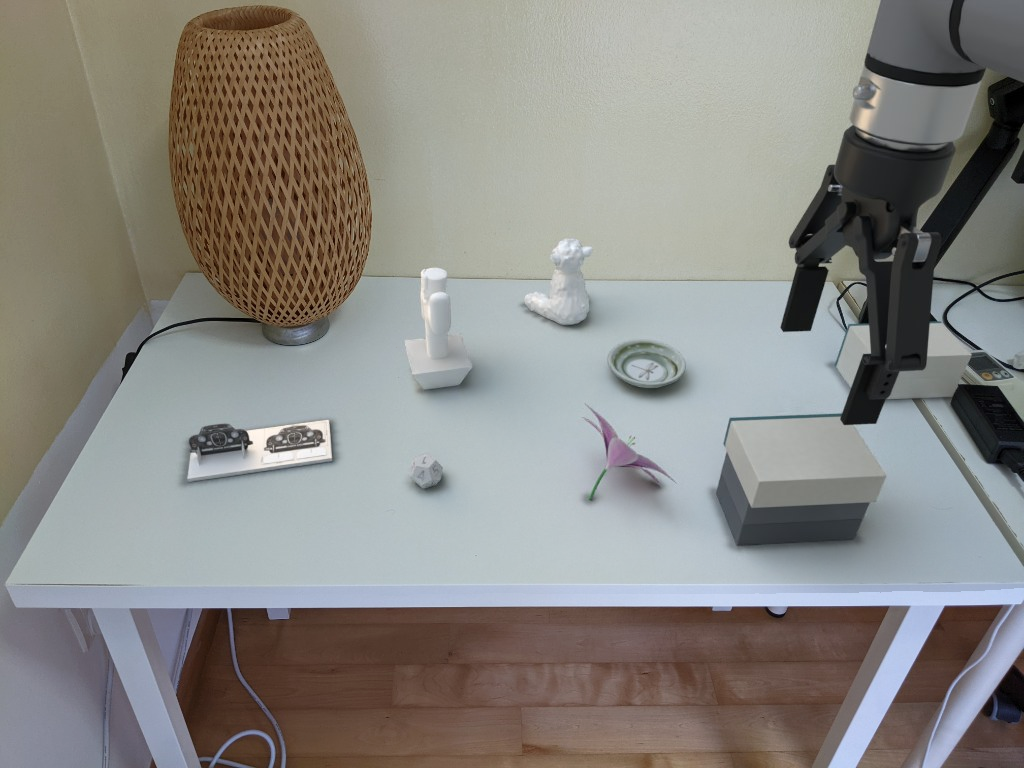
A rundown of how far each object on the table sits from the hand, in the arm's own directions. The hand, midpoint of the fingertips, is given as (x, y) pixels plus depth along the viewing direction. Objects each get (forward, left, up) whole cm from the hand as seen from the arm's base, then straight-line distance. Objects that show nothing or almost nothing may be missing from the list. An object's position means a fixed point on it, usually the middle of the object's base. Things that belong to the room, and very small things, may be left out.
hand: (824, 372), depth 68 cm
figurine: (+38, +20, -19) cm, 47 cm away
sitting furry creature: (+43, -2, -19) cm, 47 cm away
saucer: (+26, -3, -19) cm, 32 cm away
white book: (0, -1, -12) cm, 12 cm away
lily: (+12, +11, -19) cm, 25 cm away
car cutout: (+35, +43, -19) cm, 59 cm away
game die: (+22, +29, -19) cm, 41 cm away
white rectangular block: (+10, -30, -18) cm, 36 cm away
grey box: (0, -1, -18) cm, 18 cm away
